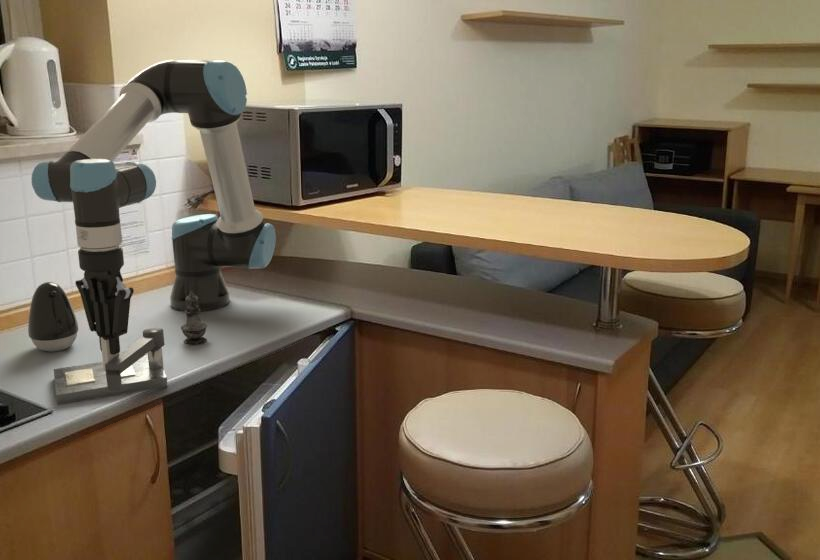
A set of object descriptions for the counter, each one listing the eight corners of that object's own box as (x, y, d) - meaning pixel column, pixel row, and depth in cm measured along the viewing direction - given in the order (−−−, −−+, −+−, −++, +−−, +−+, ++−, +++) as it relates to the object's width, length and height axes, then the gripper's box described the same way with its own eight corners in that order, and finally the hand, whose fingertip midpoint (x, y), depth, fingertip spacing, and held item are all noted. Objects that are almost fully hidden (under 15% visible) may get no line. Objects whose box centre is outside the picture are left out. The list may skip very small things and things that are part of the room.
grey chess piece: (182, 346, 178) (177, 295, 174) (181, 338, 183) (177, 288, 180) (208, 344, 179) (205, 293, 176) (207, 335, 185) (204, 286, 181)
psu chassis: (158, 362, 168) (156, 335, 167) (169, 386, 156) (167, 356, 155) (54, 378, 160) (50, 349, 158) (57, 404, 148) (53, 374, 146)
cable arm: (150, 352, 163) (148, 327, 161) (168, 353, 162) (166, 328, 161) (103, 389, 145) (100, 361, 143) (124, 390, 144) (121, 362, 143)
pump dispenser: (36, 359, 170) (27, 292, 166) (26, 345, 178) (17, 280, 174) (85, 349, 176) (78, 284, 172) (73, 336, 184) (66, 273, 180)
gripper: (58, 246, 142) (72, 368, 148) (107, 255, 136) (120, 382, 142) (93, 238, 148) (104, 355, 154) (141, 247, 142) (152, 369, 148)
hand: (112, 368), depth 148 cm, fingers closed
